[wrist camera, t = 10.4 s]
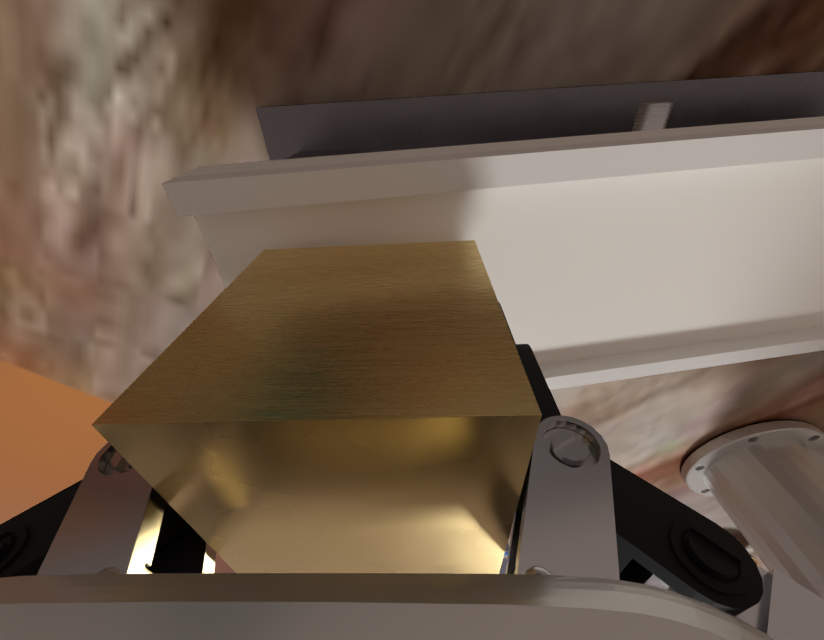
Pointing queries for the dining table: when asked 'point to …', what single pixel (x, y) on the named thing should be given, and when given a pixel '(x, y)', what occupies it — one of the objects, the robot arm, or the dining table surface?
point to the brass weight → (341, 414)
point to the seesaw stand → (535, 114)
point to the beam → (573, 235)
